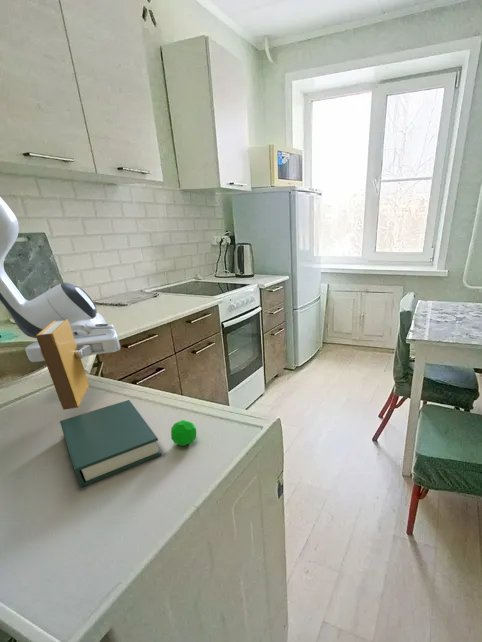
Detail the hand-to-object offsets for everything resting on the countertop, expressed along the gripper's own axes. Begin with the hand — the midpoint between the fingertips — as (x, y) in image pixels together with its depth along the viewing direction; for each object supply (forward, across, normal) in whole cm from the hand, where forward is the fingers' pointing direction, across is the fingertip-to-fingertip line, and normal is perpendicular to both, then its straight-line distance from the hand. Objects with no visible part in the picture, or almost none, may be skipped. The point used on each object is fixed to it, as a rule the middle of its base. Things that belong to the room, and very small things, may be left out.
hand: (67, 357), depth 81 cm
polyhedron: (+24, +24, +13) cm, 37 cm away
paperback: (+3, 0, +9) cm, 9 cm away
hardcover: (+20, +9, +13) cm, 26 cm away
